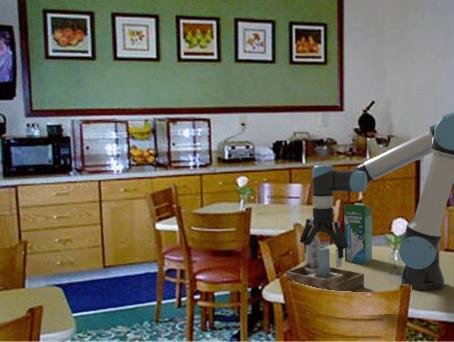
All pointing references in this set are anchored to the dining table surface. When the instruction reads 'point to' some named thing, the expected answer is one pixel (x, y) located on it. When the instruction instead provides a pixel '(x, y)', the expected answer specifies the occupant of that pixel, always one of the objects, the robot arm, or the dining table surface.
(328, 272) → the peg
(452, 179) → the robot arm
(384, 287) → the dining table surface
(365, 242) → the milk carton
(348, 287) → the tray
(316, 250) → the plastic bottle
